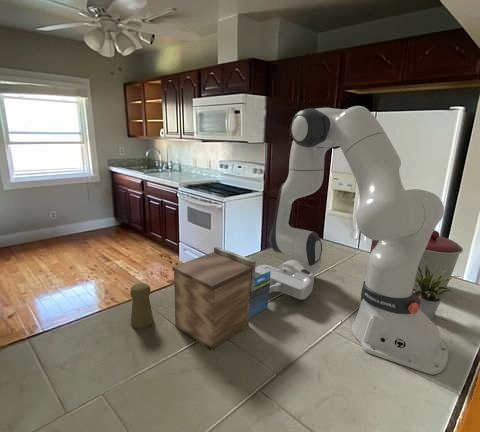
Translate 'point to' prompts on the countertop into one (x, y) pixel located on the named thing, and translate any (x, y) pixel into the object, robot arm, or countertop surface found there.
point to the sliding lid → (217, 268)
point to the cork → (141, 306)
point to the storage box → (212, 309)
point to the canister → (439, 258)
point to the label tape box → (260, 294)
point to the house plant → (430, 291)
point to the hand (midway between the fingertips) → (265, 289)
